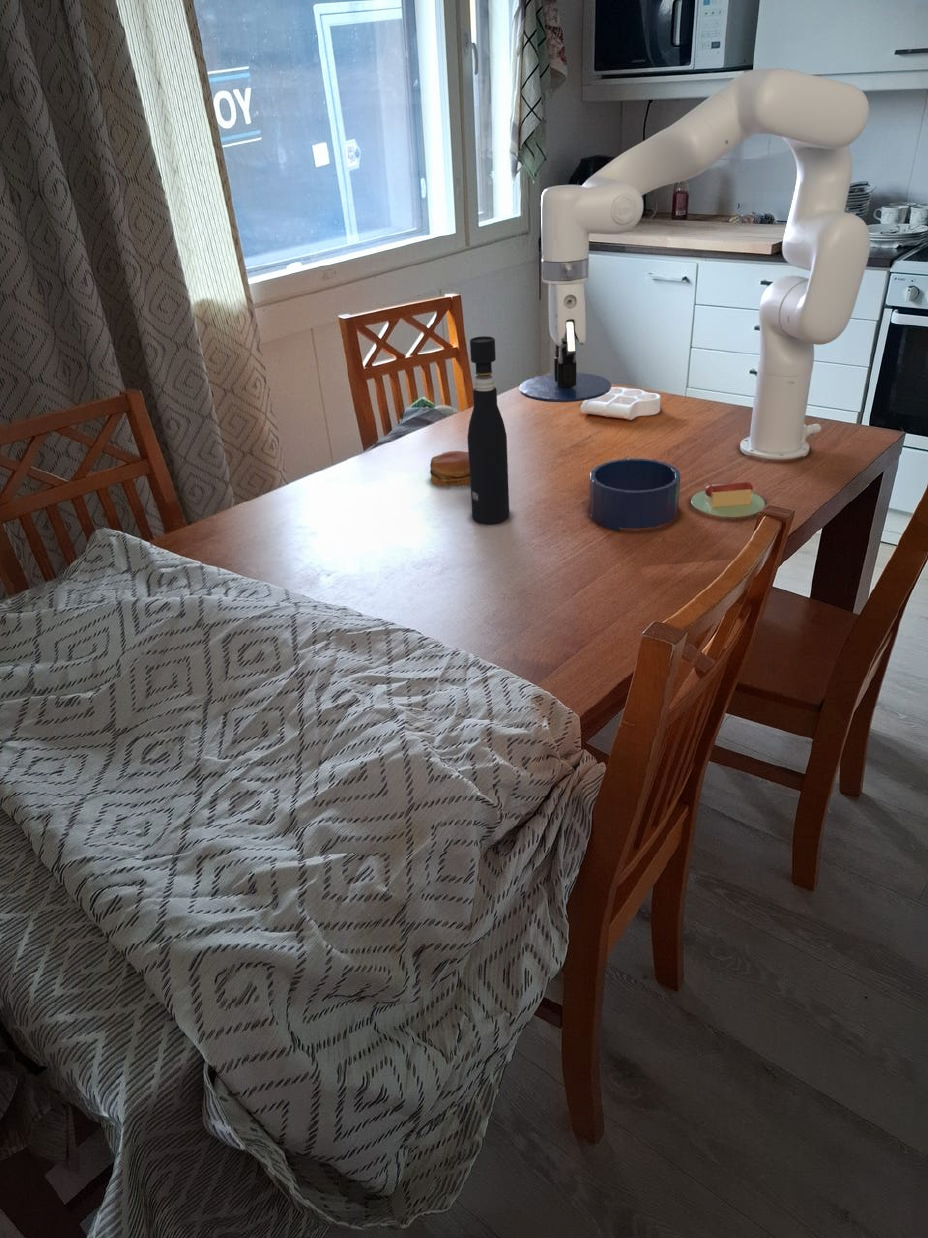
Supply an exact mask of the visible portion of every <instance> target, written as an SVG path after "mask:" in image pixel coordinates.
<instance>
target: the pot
mask: <svg viewBox="0 0 928 1238" xmlns="http://www.w3.org/2000/svg"><path fill="white" fill-rule="evenodd" d="M680 489H681V472H680V471H679V470H678V468H676V467H675V466H673V465H671V464H669V463H666V462H663V461H659V460H655V459H647V458H622V459H615V460H610V461H606V462H603V463H601V464H599V465H597V466H595V467H594V468H593V469H592V470H591V471H590V474H589V517H590V519H591V520H592V521H593V522H594V523H595V524H597V525H598V526H601V527H602V528H605V529H608V530H612V531H617V532H621V529H627V530H628V529H630V530H631V529H633V530H635V529H636V530H642V529H650V528H656V527H660V526H663V525H666V524H668V523H670V522H672V521H673V520H674V519H675V518H676V517H677V516H678V514H679V505H680V504H679V503H680Z"/></svg>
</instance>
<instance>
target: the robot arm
mask: <svg viewBox="0 0 928 1238" xmlns="http://www.w3.org/2000/svg"><path fill="white" fill-rule="evenodd" d="M869 118H870V104H869V100H868V98H867V96H866V94H865V93H864V92H863V90H862V89H861V88H859V87H857V86H856V85H854V84H851V83H848V82H844V81H839V80H835V79H830V78H826V77H822V76H817V75H813V74H810V73H806V72H802V71H798V70H794V69H789V68H783V67H781V68H780V67H773V68H764V69H752V70H748V71H745V72H743V73H740V74H739V75H737V76H735V77H734V78H733V79H731V80H730V81H728V82H727V83H726V84H725V85H723V86H722V87H721V88H719V89H718V90H716V92H714V93H712V94H711V95H710V96H709V97H708V98H706V99H705V100H703V101H702V102H701V103H700V104H698V105H697V106H696V107H694V108H693V109H691V110H690V111H689V112H687V113H686V114H685V115H684V116H682V117H681V118H679V119H678V120H677V121H675V122H674V123H672V124H671V125H669V126H668V127H666V128H664V129H662V130H660V131H658V132H657V133H655V134H653V135H651V136H650V137H648V138H647V139H645V140H643V141H641V142H640V143H638V144H636V145H634V146H632V147H631V148H629V149H627V150H625V151H624V152H623V153H621V154H619V155H618V156H616V157H615V158H614V159H612V160H611V161H610V162H608V163H607V164H606V165H604V166H603V167H601V168H600V169H599V170H597V171H596V172H595V173H594V174H592V175H591V176H590V177H588V178H587V179H586V180H585V182H584V183H582V185H581V184H563V185H562V184H561V185H560V184H559V185H553V186H549V187H547V188H545V189H544V190H543V192H542V194H541V198H540V199H541V200H540V207H541V208H540V210H541V211H540V215H541V216H540V217H541V219H540V220H541V225H540V229H541V230H540V231H541V282H542V283H544V284H548V289H547V290H548V329H549V330H548V331H549V336H550V337H551V339H552V340H553V342H554V358H553V374H554V380H555V382H557V385H558V387H570V386H575V385H576V373H577V342H578V343H579V344H580V345H581V346H585V344H586V343H587V319H586V315H587V314H586V296H585V295H586V294H585V293H586V292H585V285H584V284H585V283H584V282H586V281H589V272H590V271H589V265H590V234H597V235H599V234H600V235H621V234H624V233H627V232H629V231H630V230H632V229H633V228H634V227H636V226H637V225H638V223H639V222H640V220H641V218H642V215H643V213H644V199H643V197H642V196H645V195H646V194H648V193H650V192H652V191H654V190H656V189H659V188H661V187H664V186H668V185H672V184H673V185H674V184H677V183H681V182H685V181H687V180H691V179H692V178H695V177H697V176H699V175H701V174H703V173H704V172H705V171H707V170H708V169H710V168H711V167H712V166H713V165H714V164H716V163H717V162H719V161H720V160H721V159H723V158H724V157H726V156H727V155H728V154H729V153H731V152H732V151H733V150H735V149H736V148H738V147H739V146H741V145H742V144H743V143H744V142H746V141H747V140H748V139H750V138H751V137H753V136H755V135H757V134H758V135H774V136H777V137H780V138H782V139H783V141H784V142H785V143H786V145H788V147H789V149H790V150H791V152H792V155H793V157H794V160H795V164H796V182H795V187H794V192H793V196H792V201H791V205H790V209H789V214H788V218H787V220H786V221H787V222H786V226H785V230H784V234H783V238H782V243H781V244H782V246H781V251H782V256H783V258H784V260H785V261H786V263H788V264H790V265H791V266H793V267H795V268H798V269H801V270H806V271H809V272H810V274H809V278H808V277H804V276H800V275H786V276H785V275H784V276H782V277H779V278H777V279H775V280H773V282H771V283H770V284H769V285H768V286H767V287H766V289H765V290H764V291H763V294H762V296H761V297H760V298H761V299H760V301H759V308H758V324H759V353H758V361H757V362H758V363H757V371H756V378H755V388H754V395H753V405H752V415H751V422H750V430H749V436H747V437H745V438H743V439H742V440H741V441H740V444H739V445H740V446H739V450H740V451H741V452H742V454H744V455H745V456H752V457H756V458H759V459H760V458H761V459H766V460H791V459H797V458H800V457H803V458H804V457H806V456H807V455H808V454H809V452H810V444H809V443H808V442H807V441H806V439H807V438H809V436H813V435H817V434H820V433H821V431H822V426H821V425H820V424H819V423H813V424H809V425H806V423H805V421H806V414H807V408H808V400H809V395H810V387H811V381H812V374H813V370H814V361H815V345H817V346H820V345H826V344H829V343H833V341H835V340H836V339H837V338H839V337H840V336H841V335H842V333H843V332H844V331H845V329H846V328H847V326H848V325H849V322H850V320H851V318H852V315H853V312H854V310H855V307H856V303H857V299H858V295H859V294H860V293H859V292H860V289H861V286H862V282H863V280H864V279H863V278H864V275H865V273H866V272H865V271H866V267H867V265H868V260H869V257H870V253H871V234H870V229H869V227H868V226H867V224H866V222H865V221H864V220H863V219H862V218H861V217H859V216H858V215H856V214H853V213H851V212H846V211H845V210H846V206H847V201H848V197H849V192H850V186H851V184H852V183H851V182H852V177H853V158H852V153H851V148H850V146H849V145H851V144H853V143H854V142H855V141H856V140H858V138H860V136H861V135H862V133H863V132H864V130H865V129H866V126H867V124H868V121H869ZM558 359H559V363H558Z"/></svg>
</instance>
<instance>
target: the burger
mask: <svg viewBox="0 0 928 1238" xmlns="http://www.w3.org/2000/svg"><path fill="white" fill-rule="evenodd" d="M429 468H430V471H429V474H430V483H432V484H433V485H435V486H437V487H442V488H443V487H444V488H447V487H449V488H450V487H451V486H452V487H463V486H470V472H469V455H468V451H464V450H463V451H462V450H451V451H446V452H442V453H441V454H438V455H435V456H432V458H431V459H430V464H429Z"/></svg>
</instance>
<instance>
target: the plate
mask: <svg viewBox="0 0 928 1238" xmlns="http://www.w3.org/2000/svg"><path fill="white" fill-rule="evenodd" d="M705 497H706V493H705V489H704V490H701V491H698V492H697V493H695V494H693V496H692V497H691V501H690V502H691V505H692V506H693V507H694V508H695V509H697V510H698V511H700V512H702V513H705V514H708V515H712V516H715V517H716V516H717V517H726V518H739V517H747V516H751V515H754V514H757V513H759V512H761V511H762V510H763V509H764V508H765V506H766V505H765V504H766V503H765V500H764V499H763V498H762V497H761V496H760V495H758V494H757V493H754V492H752V495H751V504H747V505H735V506H723V507H711V506H710V504H709V503H708V502H707V500H706V499H705Z"/></svg>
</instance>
